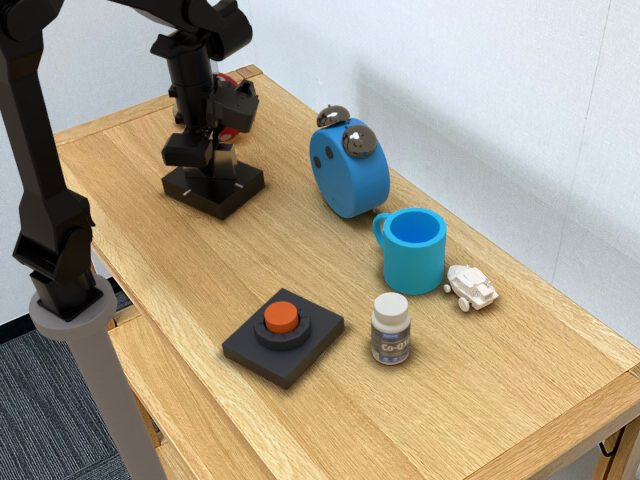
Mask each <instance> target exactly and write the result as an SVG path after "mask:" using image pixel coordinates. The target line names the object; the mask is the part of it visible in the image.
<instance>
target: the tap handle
mask: <svg viewBox="0 0 640 480" xmlns="http://www.w3.org/2000/svg"><path fill="white" fill-rule="evenodd" d="M236 154H237V153H236V147H235V143H230V142H219V144H218V146H217V148H216V150H215V151H214V152H213V177H206V176H205V175H204V174H203V173H202V172H201V171H200V169H199V168H196V167H183V171H184V175H185V177H200V178H217V179H235V180H236V178H237V175H238V173H239V170H238V164H237V160H238V159H237V158H238V157H236Z"/></svg>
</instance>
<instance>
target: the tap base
mask: <svg viewBox="0 0 640 480" xmlns="http://www.w3.org/2000/svg"><path fill="white" fill-rule="evenodd" d="M239 156H240V154H239V153H236V158H238V157H239ZM237 164H238V170H239V173H238V175H237V178H236V180H235V179H217V178H200V177H185V175H184V171H183V167H178V166H176V167H175V168H174V169H172V170H171V171H170V172H168V173H167V174H165V175H164V176H162V177H161V178H160V180H161V184H162V188H163V191H164V196H167V197H170V198H172V199H174V200H176V201H178V202H180V203H183V204H185V205H187V206H188V207H191V208H194V209H195V210H198V211H199V212H200V211H201V212H202V213H204V214H207V215H209V216H211V217H213V218H215V219H217V220H219V221H225V220H226V219H227V218H229V217H230V216H231V215H233V214H234V213H235V212H236V211H237V210H239V209H240V208H241V207H243V206H244V205H245V204H246V203H247V202H249V201H250V200H251V199H252V198H253V197H254V196H256V195H257V194H259V193H260V192H261V191H262V190H263V189H264V188H266V181H265V174H264V170H262V169H260V168H257V167H255V166H252V165H250V164H247V163H245V162H243V161H241V160H238V159H237Z"/></svg>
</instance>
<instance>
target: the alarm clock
mask: <svg viewBox="0 0 640 480" xmlns="http://www.w3.org/2000/svg"><path fill="white" fill-rule="evenodd" d="M315 124H316V127H317V128H319V129H317V130H315V131H314V132H313V133H312V135H311V137H310V140H309V146H308V149H309V152H308V153H309V161H310V166H311V171H312V173H313V174H312V175H313V177H314V180H315V182H316V185H317V187H318V189H319V191H320V193H321V195H322V197H323V199H324V200H325V202H326V203H327V204H328V206H329V207H330V209H331V210H333V212H334V213H336V214H337V215H338V216H339V217H341V218H343V219H352V218H354V217H357V216H359V215H361V214H363V213H366V212H368V211H372V214H376V208H378V207H380V206H382V205H384V204H385V203H386V201H387V200H388V198H389V195H390V190H391V175H390V168H389V164H388V161H387V158H386V155H385V154H386V153H385V152H384V150H383V147H382V145H381V143H380V140H379V139H378V138H377V135H376V133H375V131H374V130H372V128H370V127H369V126H368V125H367V124H366V123H365V122H363V121H362V120H360V119H359V118H355V117H352V115H351V113H350V111H349V110H348V109H347V108H346V107H344V106H342V105H338V104H334V105H331V104H330V103H328V104H327V107H325V108H323V109H321V111H320V112H319V113H318V114H317V116H316V118H315Z"/></svg>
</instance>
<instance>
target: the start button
mask: <svg viewBox="0 0 640 480" xmlns="http://www.w3.org/2000/svg"><path fill="white" fill-rule="evenodd" d="M264 316H265V322H266V327H267V329H268V330H269V331H270V332H272V333H275V334H286V333H289V332H292V331H293V330H294V329H295V328H296V327H297V325H298V314H297V309H296V307H295V306H294V305H293V304H291V303H289V302H283V301H282V302H276V303H273V304H271V305H270V306H268V307H267V309H266V310H265V313H264Z"/></svg>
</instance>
